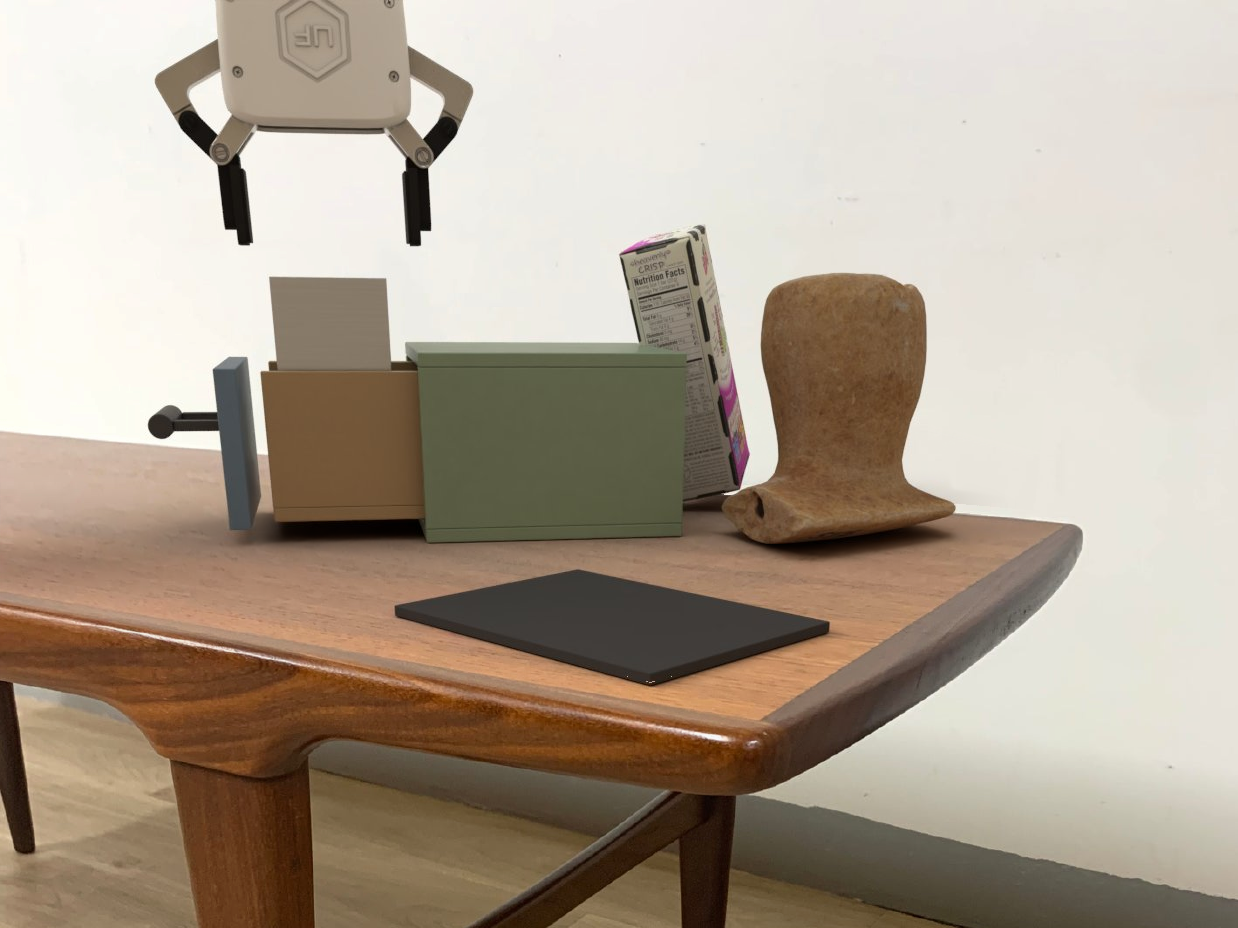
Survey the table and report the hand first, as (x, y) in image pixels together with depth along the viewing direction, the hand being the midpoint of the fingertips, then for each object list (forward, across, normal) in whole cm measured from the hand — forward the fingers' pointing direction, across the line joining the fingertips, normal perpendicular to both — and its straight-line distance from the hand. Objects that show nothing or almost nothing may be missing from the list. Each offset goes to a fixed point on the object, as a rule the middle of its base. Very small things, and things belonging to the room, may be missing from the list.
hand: (330, 245), depth 76 cm
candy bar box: (+15, +26, +7) cm, 31 cm away
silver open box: (+14, 0, 0) cm, 14 cm away
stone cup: (+17, +29, -7) cm, 34 cm away
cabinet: (+16, +12, 0) cm, 20 cm away
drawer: (+15, -2, 0) cm, 15 cm away
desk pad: (+16, +11, -28) cm, 34 cm away
